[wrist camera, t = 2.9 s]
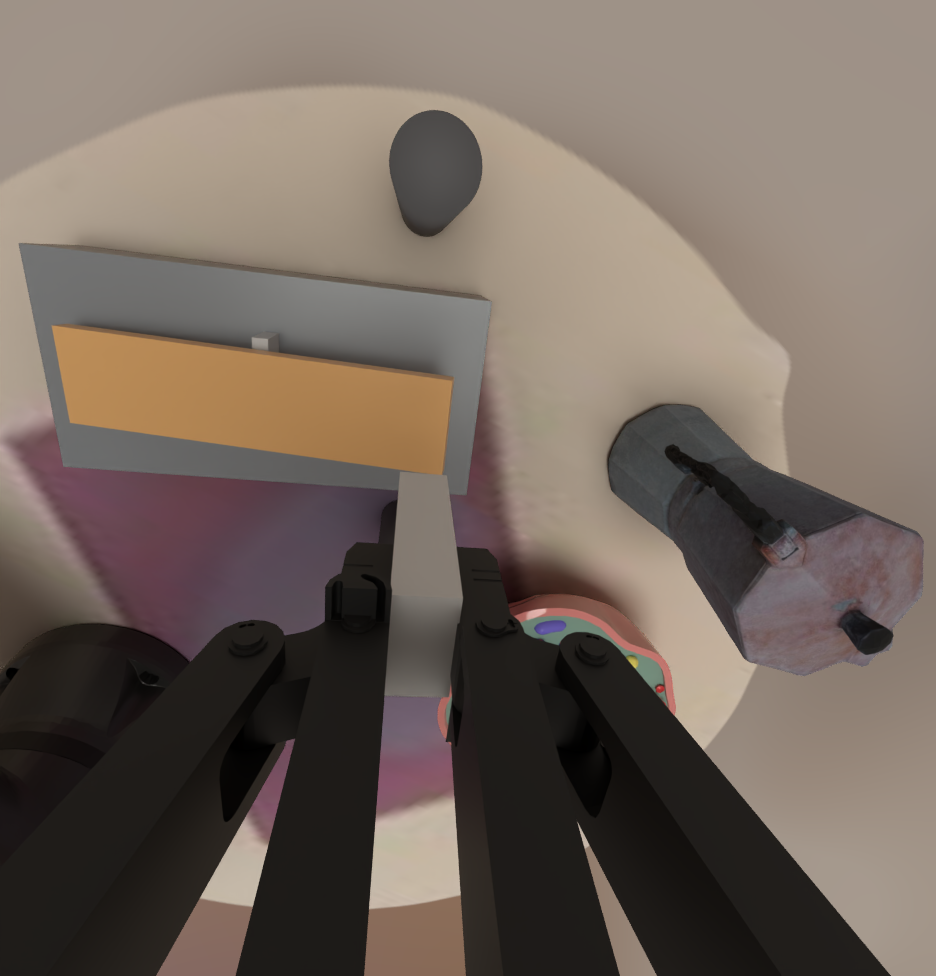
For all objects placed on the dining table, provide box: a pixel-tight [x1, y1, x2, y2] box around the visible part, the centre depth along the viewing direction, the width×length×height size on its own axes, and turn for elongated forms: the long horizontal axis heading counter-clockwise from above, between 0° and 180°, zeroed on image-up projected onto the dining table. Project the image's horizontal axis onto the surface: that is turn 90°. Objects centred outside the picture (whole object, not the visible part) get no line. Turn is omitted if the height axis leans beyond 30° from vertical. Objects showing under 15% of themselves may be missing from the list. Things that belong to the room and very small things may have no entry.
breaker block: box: [19, 243, 492, 495], centre depth 31 cm, size 24×12×7 cm, turn 83°
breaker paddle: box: [52, 324, 454, 475], centre depth 27 cm, size 20×5×1 cm, turn 83°
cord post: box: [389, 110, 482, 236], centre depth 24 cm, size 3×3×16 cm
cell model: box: [438, 594, 676, 745], centre depth 41 cm, size 17×20×11 cm
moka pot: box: [608, 405, 924, 676], centre depth 30 cm, size 10×15×20 cm, turn 50°
